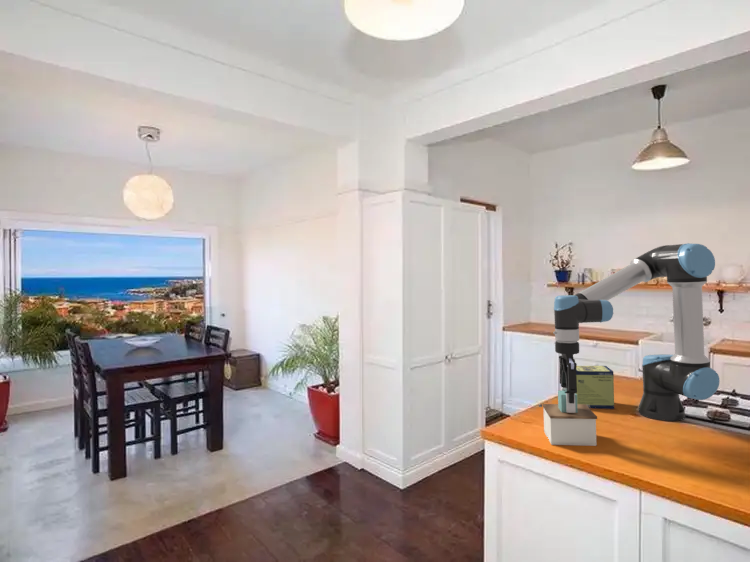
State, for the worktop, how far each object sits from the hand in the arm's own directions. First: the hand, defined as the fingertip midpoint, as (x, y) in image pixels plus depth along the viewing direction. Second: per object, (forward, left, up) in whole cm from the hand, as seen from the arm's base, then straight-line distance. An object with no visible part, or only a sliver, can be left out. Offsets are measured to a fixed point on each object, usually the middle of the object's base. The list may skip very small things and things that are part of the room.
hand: (568, 409), depth 155 cm
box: (0, -1, -10) cm, 10 cm away
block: (0, 0, 0) cm, 1 cm away
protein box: (-18, -40, -11) cm, 45 cm away
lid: (0, 0, -1) cm, 1 cm away
